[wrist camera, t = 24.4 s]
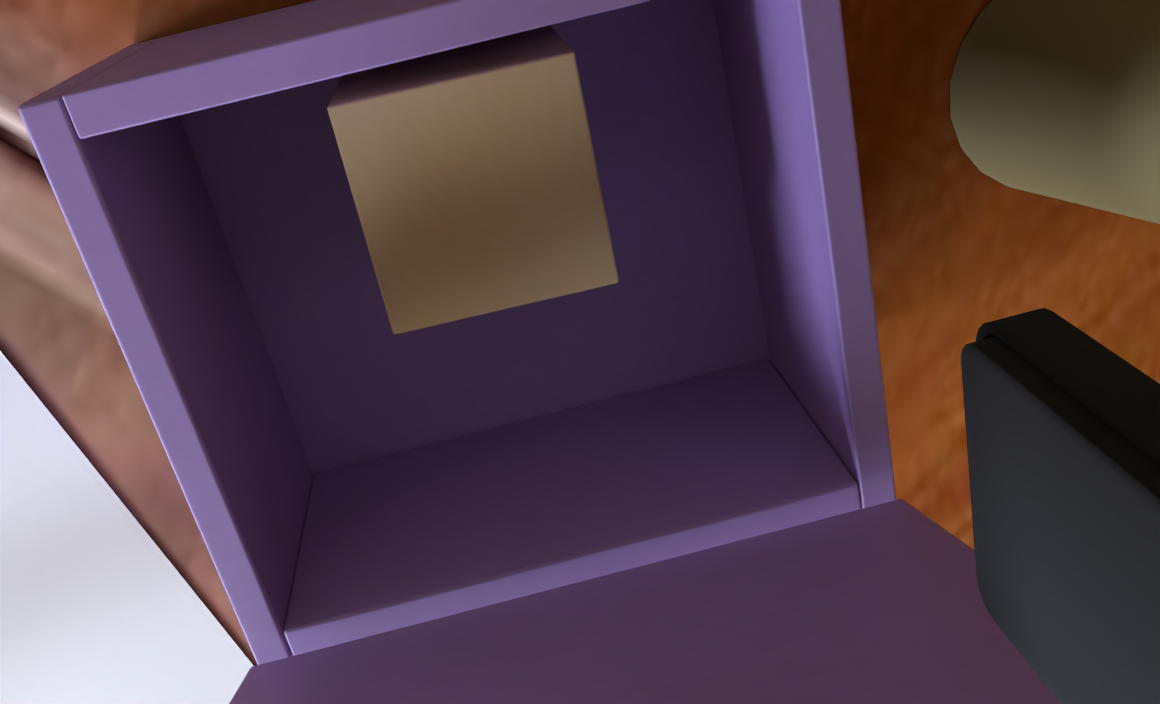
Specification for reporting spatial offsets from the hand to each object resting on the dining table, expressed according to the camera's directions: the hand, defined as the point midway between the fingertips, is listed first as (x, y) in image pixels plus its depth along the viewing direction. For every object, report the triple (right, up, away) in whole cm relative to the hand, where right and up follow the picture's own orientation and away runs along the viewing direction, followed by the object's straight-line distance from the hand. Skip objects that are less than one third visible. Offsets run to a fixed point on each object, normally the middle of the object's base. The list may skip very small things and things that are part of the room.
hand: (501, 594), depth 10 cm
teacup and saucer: (-22, -5, +21) cm, 30 cm away
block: (-2, +7, +17) cm, 19 cm away
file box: (-2, +6, +19) cm, 20 cm away
